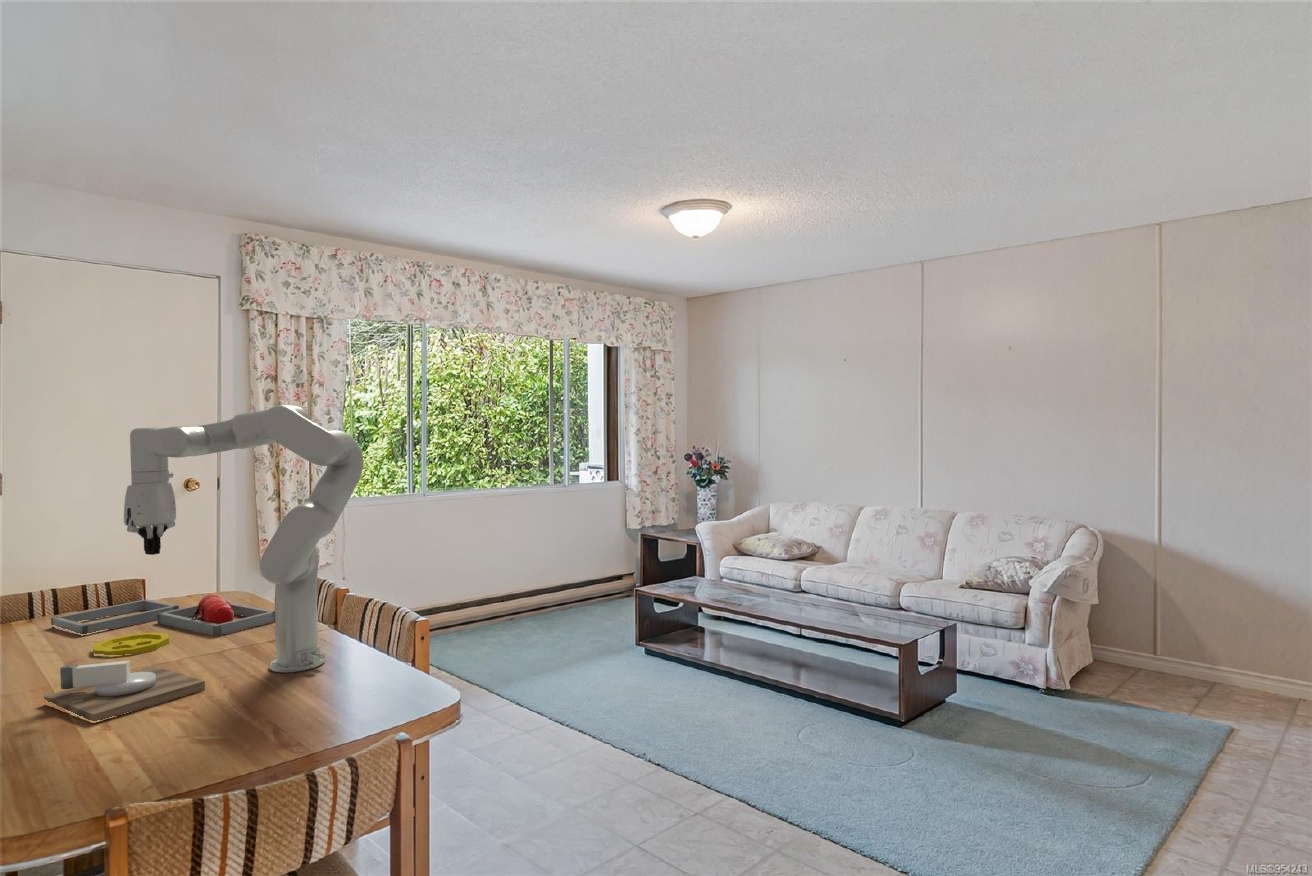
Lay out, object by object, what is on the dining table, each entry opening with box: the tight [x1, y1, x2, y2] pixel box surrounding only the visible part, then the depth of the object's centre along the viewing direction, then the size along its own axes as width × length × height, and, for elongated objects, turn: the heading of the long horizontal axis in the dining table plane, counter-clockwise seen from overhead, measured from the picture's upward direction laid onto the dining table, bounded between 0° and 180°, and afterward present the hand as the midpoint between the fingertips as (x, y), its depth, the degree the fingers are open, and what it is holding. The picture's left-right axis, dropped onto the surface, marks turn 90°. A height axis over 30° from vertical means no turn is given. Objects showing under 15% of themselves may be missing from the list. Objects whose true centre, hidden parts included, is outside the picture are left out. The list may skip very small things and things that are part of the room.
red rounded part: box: [191, 593, 235, 624], centre depth 228 cm, size 12×8×25 cm
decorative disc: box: [92, 631, 170, 655], centre depth 204 cm, size 17×18×2 cm
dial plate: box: [43, 665, 206, 721], centre depth 166 cm, size 22×22×2 cm
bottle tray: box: [157, 601, 275, 638], centre depth 229 cm, size 32×18×3 cm, turn 60°
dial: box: [59, 660, 156, 696], centre depth 165 cm, size 18×11×6 cm, turn 108°
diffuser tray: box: [50, 598, 180, 634], centre depth 232 cm, size 20×26×3 cm
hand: (152, 553), depth 182 cm, fingers closed
